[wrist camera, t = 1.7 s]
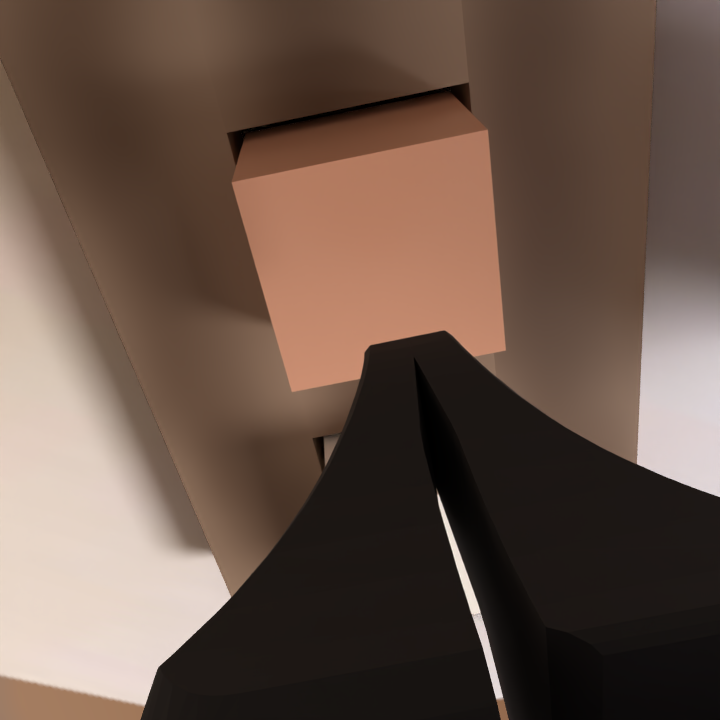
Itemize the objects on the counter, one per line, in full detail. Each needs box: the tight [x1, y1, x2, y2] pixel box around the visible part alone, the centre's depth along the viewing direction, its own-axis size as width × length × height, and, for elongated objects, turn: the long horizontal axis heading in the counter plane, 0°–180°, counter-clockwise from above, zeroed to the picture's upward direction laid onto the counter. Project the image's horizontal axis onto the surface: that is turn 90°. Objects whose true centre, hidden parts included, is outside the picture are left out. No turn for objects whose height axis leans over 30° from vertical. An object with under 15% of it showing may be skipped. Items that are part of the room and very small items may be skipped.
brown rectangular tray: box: [0, 0, 657, 597], centre depth 18 cm, size 14×26×2 cm, turn 10°
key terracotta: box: [232, 91, 506, 392], centre depth 16 cm, size 5×5×4 cm
